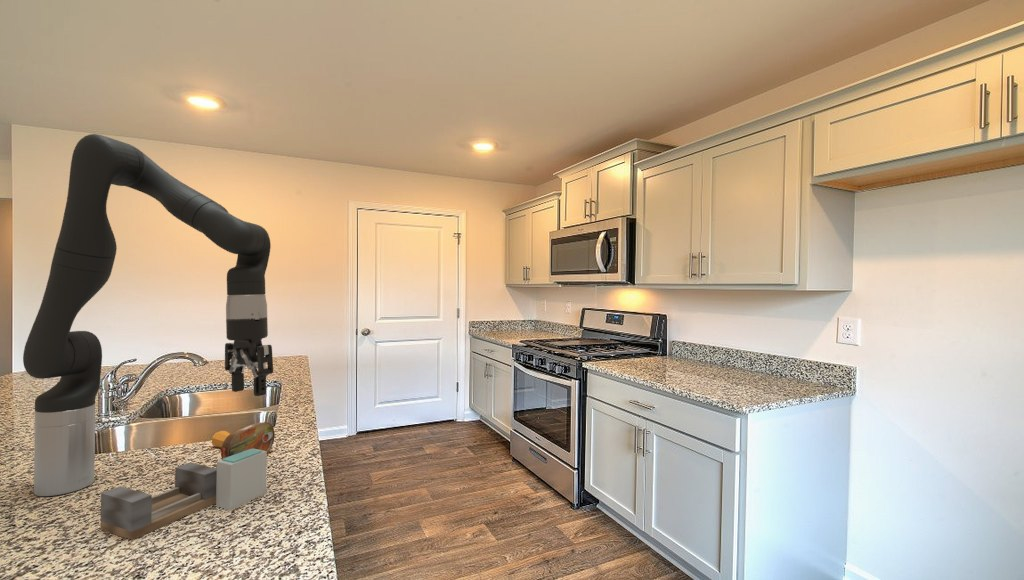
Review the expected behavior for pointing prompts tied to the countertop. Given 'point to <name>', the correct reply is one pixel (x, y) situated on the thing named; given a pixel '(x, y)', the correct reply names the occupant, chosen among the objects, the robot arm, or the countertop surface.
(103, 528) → the rack
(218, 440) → the orange rounded piece
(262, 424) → the tin
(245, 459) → the block
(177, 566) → the countertop surface
